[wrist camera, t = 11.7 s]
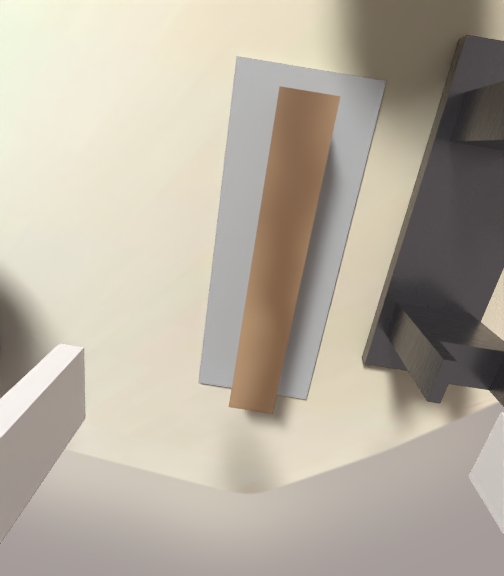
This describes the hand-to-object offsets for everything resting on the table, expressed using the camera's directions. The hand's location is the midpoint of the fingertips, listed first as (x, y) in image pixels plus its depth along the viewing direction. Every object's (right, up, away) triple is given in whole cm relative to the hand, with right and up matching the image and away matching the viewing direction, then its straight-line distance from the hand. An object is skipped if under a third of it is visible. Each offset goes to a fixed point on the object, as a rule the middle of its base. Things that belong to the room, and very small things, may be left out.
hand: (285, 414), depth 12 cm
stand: (+14, +8, +16) cm, 23 cm away
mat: (+1, +7, +17) cm, 19 cm away
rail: (+1, +7, +17) cm, 18 cm away
